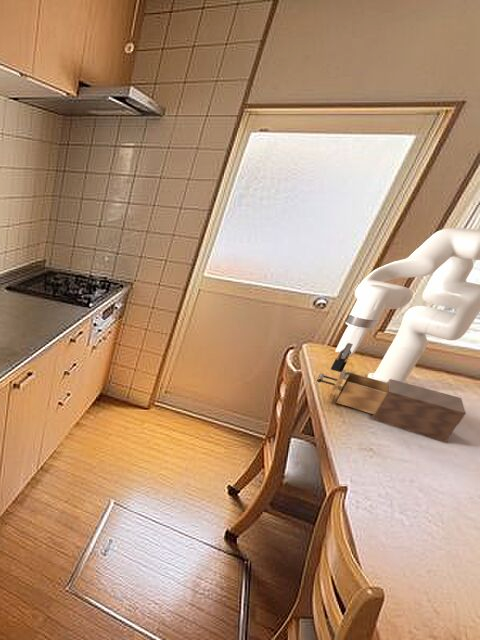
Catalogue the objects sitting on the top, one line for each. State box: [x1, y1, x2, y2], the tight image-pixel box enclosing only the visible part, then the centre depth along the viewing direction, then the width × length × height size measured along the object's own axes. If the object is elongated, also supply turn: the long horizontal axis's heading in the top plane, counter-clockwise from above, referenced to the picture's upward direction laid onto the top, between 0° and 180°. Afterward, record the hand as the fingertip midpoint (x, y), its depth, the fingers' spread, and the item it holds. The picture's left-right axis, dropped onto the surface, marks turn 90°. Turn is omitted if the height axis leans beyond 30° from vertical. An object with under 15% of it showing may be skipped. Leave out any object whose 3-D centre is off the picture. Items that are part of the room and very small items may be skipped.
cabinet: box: [371, 379, 467, 443], centre depth 139 cm, size 18×15×11 cm
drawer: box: [316, 368, 388, 415], centre depth 149 cm, size 22×14×9 cm, turn 46°
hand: (336, 370), depth 151 cm, fingers closed
